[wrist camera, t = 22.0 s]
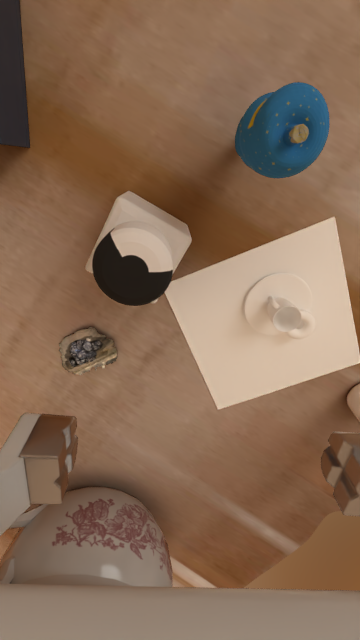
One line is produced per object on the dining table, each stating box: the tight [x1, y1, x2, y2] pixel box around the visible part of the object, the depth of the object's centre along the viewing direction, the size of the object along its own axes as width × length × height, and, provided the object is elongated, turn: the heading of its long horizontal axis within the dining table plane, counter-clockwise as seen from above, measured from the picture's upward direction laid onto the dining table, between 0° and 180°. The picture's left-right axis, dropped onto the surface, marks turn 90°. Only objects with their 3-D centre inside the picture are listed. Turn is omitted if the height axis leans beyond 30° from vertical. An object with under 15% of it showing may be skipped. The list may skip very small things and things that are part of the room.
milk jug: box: [0, 487, 173, 587], centre depth 45 cm, size 28×28×21 cm
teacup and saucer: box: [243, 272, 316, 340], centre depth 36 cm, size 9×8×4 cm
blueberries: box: [59, 327, 117, 375], centre depth 39 cm, size 7×8×2 cm
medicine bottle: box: [85, 191, 192, 306], centre depth 29 cm, size 7×7×12 cm
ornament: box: [235, 82, 329, 178], centre depth 24 cm, size 5×5×15 cm
